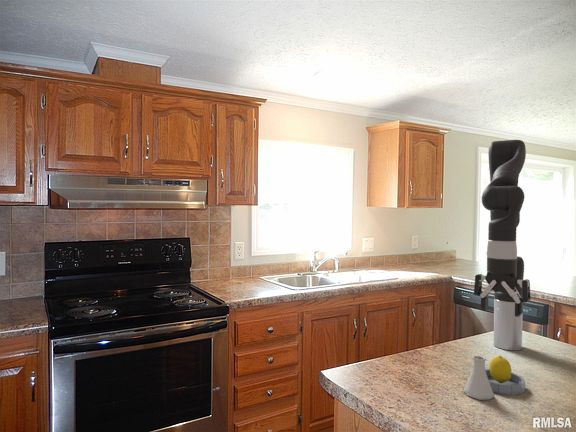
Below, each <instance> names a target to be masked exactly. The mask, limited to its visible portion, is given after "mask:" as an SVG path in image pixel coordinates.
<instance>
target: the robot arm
mask: <svg viewBox="0 0 576 432" xmlns="http://www.w3.org/2000/svg"><path fill="white" fill-rule="evenodd" d="M526 152H527V151H526V145H525V142H524V141H523V140H521V139H508V140H507V139H506V140H495V141H491V142H490V143H489V146H488V153H487V154H488V155H487V156H488V167H489V180H490V183H489V184H488V185H487V186H486V187H484V190H483V192H482V194H481V204H482V206H483V207H484V209H486V210H488V211H490V221H489V222H488V227H487V228H488V231H487V232H488V237H487V238H488V239H487V240H488V241H487V247H486V248H487V249H486V250H487V251H486V275H484V274H482V273H478V274H476V275H475V276H474V286H473V287H474V288H473V294H474V295H475V296H479V298H480V308H481V309H482V311H483V312H487V311H489V297H488V296H489V295H490V294H491V293H492V292H494V295H493V340H492V341H493V346H494V347H496V348H499V349H503V350H506V351H521V350H522V349H523V317H524V316H523V315H524V314H523V304H525V303H527V302H529V301H531V299H532V298H531V283H530V282H531V281H530V279H524V276H525V275H524V273H525V261H524V259H523V257H522V256H518V247H517V229H518V226H519V224H520V222H521V221H520V220H521V210H522V207H523V205H524V201H525V192H524V190H523V188H522V187H520V186H519V177H520V174H521V172H522V170H523V167H524V164H525V162H526V155H527V153H526ZM485 281H486V283H487V286H486V287H485V288H484V290H483V289H482V288H483V283H484V282H485ZM482 290H483V291H482Z"/></svg>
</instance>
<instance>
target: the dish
mask: <svg viewBox="0 0 576 432" xmlns="http://www.w3.org/2000/svg"><path fill="white" fill-rule="evenodd" d="M485 370H486V374H487V377H488V380H489V383H490V386H491V388H492V391H493V393H496V394H500V395H501V394H502V395H506V396H507V395H509V396H514V395H515V396H516V395H521V394H523V393H525V391H526V381H525V379H524V378H523V377H522V376H520V375H519V374H517V373H514V372H512V371H511V377H510V379H509V380H508V381H507V382H503V383H499V382H498V381H496V380H494V379H493V378H492V376H491V374H490V370H489V368H485Z"/></svg>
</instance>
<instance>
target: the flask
mask: <svg viewBox="0 0 576 432" xmlns="http://www.w3.org/2000/svg"><path fill="white" fill-rule="evenodd" d="M471 358H472V360H473V363H472V369H471V372H470V374H469V377H468V380H466V381H467V382H466V383H465V385H464V388H463V391H462V392H463V393H464V394H465V395H467V396H468V397H471V398H474V399H476V400H479V401H480V400H483V401H485V400H491V399H493V398H494V397H495V392H493V391H492V388H491V386H490V383H489V380H488V377H487V374H486V370H485V369H486V364H485V363H486V361H487V358H486V357H484V356H482V355H473V356H472V357H471Z"/></svg>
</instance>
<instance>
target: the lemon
mask: <svg viewBox="0 0 576 432" xmlns="http://www.w3.org/2000/svg"><path fill="white" fill-rule="evenodd" d="M488 369H489V370H490V374H491V376H492V378H493V379H494V380H496V381H498V382H499V383H503V382H507V381H508V380H509V379H510V377H511V372H512V367H511V363H510V362H509V360H508V359H507V358H506V357H502V355H498V356H494V357H493V358H492V359H491V360H490V363H489V367H488Z"/></svg>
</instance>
